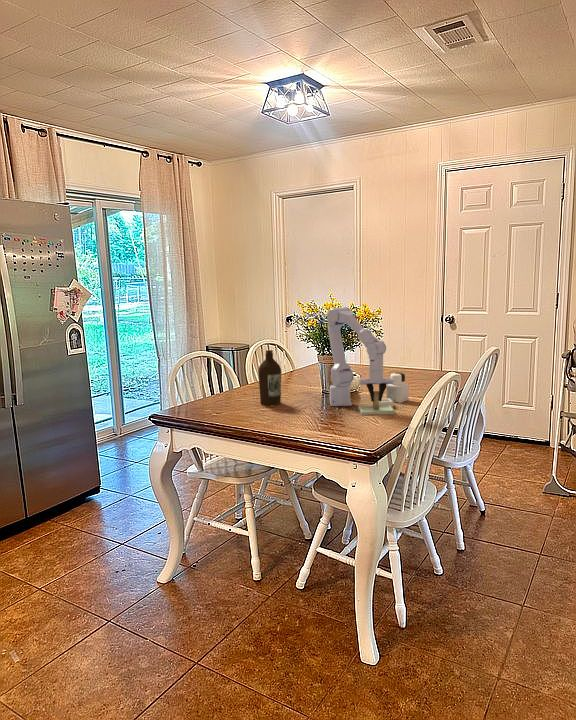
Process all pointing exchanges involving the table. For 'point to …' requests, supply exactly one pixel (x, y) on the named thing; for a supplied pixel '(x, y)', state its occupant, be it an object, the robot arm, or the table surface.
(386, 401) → the square block with hole
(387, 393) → the container
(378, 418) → the table surface
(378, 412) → the tray
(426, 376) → the table surface
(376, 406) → the dowel
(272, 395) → the olive oil
